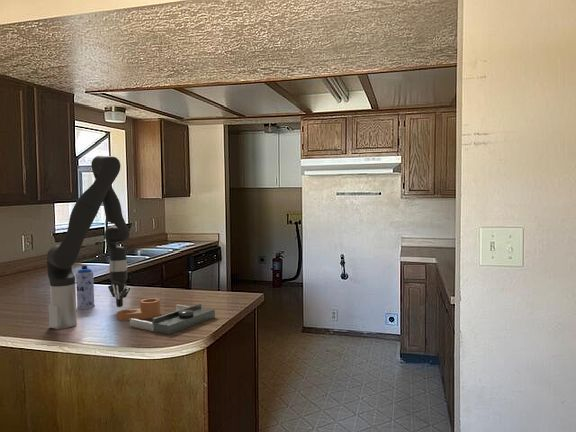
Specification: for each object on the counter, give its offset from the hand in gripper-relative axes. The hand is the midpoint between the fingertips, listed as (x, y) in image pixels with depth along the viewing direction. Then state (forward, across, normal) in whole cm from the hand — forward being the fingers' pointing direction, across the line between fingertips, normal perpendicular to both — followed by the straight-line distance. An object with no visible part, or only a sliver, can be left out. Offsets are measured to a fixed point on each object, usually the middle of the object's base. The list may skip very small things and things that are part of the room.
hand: (119, 306), depth 200 cm
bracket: (+2, +15, -2) cm, 16 cm away
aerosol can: (+2, -21, -3) cm, 21 cm away
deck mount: (+2, +35, 0) cm, 35 cm away
